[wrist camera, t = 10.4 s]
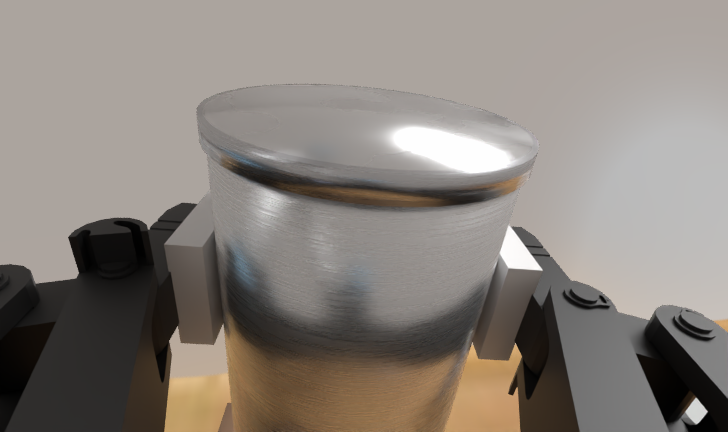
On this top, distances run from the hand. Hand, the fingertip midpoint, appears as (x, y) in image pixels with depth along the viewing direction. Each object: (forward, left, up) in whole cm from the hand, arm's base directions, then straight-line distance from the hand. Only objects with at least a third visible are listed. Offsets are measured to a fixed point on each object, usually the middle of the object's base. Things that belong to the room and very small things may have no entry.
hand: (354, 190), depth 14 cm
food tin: (0, -5, -6) cm, 8 cm away
